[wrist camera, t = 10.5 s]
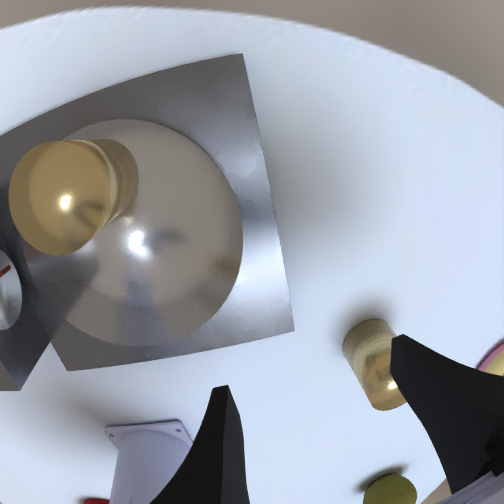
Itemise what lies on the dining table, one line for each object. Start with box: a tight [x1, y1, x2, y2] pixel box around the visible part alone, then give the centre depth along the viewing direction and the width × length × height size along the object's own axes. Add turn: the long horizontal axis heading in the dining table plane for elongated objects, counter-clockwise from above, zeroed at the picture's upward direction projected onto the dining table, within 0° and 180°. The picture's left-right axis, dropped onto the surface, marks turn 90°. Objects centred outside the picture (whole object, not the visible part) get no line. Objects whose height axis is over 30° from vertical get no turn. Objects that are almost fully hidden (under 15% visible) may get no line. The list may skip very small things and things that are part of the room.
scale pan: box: [21, 119, 243, 346], centre depth 18 cm, size 14×14×1 cm
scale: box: [0, 54, 295, 391], centre depth 16 cm, size 18×21×7 cm
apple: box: [363, 474, 417, 504], centre depth 32 cm, size 8×8×7 cm
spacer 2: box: [342, 319, 407, 411], centre depth 22 cm, size 4×4×6 cm
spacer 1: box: [9, 138, 139, 255], centre depth 13 cm, size 4×4×6 cm
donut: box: [477, 344, 504, 376], centre depth 29 cm, size 10×5×9 cm
